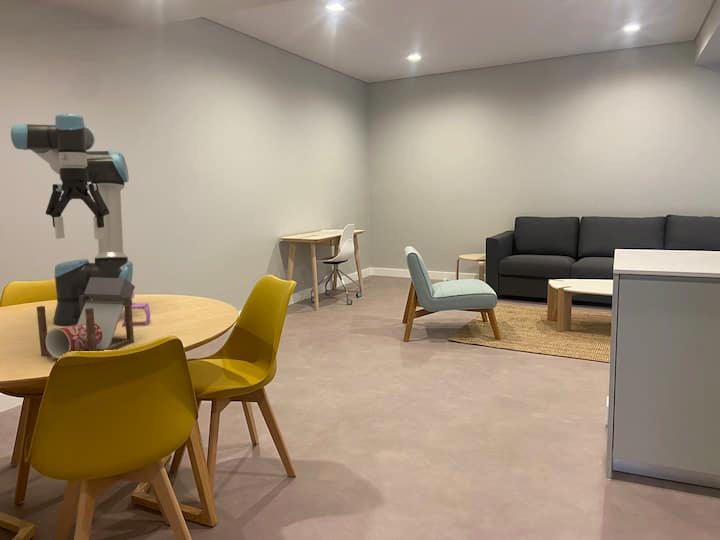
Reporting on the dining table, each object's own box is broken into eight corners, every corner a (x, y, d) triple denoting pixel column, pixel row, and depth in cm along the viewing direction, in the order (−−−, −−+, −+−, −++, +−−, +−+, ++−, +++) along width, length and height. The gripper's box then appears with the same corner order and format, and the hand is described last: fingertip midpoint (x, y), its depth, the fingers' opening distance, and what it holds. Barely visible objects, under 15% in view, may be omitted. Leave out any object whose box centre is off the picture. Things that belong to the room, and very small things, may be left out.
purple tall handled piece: (146, 326, 198) (143, 286, 196) (121, 327, 197) (118, 286, 195) (151, 321, 206) (149, 282, 204) (127, 322, 205) (124, 283, 203)
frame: (40, 355, 163) (36, 307, 161) (85, 339, 181) (82, 295, 179) (94, 359, 159) (90, 309, 157) (134, 341, 178) (131, 296, 175)
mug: (98, 315, 168) (62, 323, 155) (109, 342, 167) (74, 353, 155) (69, 328, 171) (32, 337, 159) (79, 355, 171) (43, 366, 158)
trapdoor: (74, 351, 174) (62, 344, 168) (99, 285, 184) (88, 277, 179) (113, 353, 171) (101, 346, 165) (136, 286, 181) (126, 278, 176)
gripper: (28, 167, 161) (35, 239, 164) (101, 166, 156) (107, 239, 159) (47, 168, 168) (53, 237, 171) (118, 167, 163) (123, 237, 166)
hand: (79, 238), depth 165 cm, fingers open, 13 cm apart
